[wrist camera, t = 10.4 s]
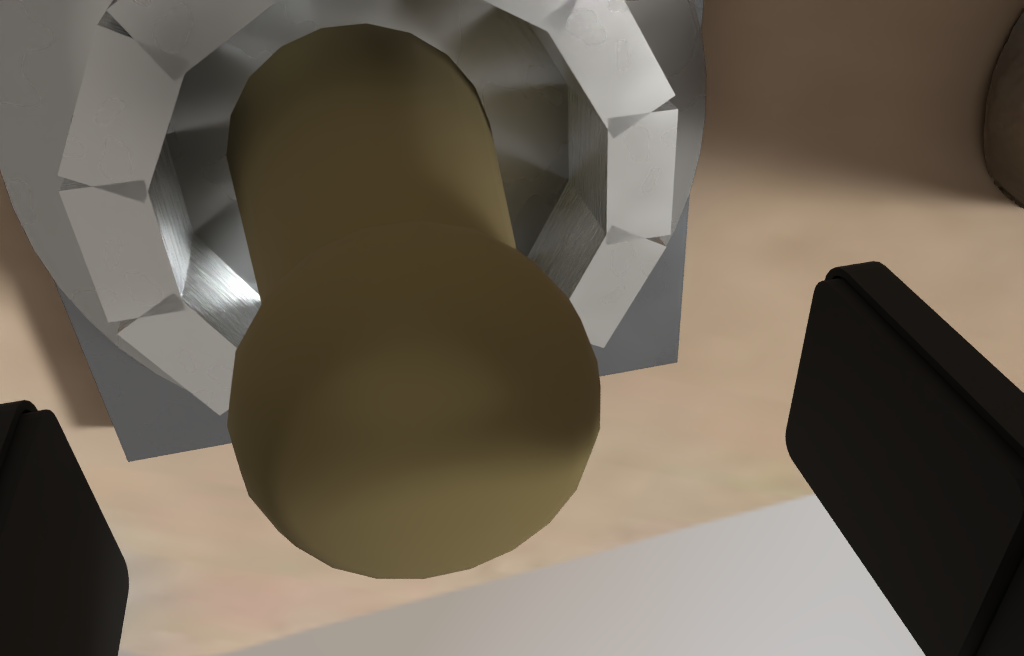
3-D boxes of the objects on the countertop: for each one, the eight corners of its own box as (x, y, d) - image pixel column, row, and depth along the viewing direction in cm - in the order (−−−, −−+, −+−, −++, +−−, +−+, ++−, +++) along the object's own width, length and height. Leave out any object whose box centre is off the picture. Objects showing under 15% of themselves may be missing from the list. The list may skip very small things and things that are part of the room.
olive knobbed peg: (505, 30, 19) (711, 275, 10) (480, 271, 22) (620, 619, 13) (216, 14, 17) (155, 285, 8) (235, 275, 21) (204, 671, 12)
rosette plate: (-122, -233, 16) (-264, -229, 12) (694, -280, 18) (815, -291, 14) (135, 427, 25) (107, 561, 21) (659, 335, 27) (727, 438, 23)
